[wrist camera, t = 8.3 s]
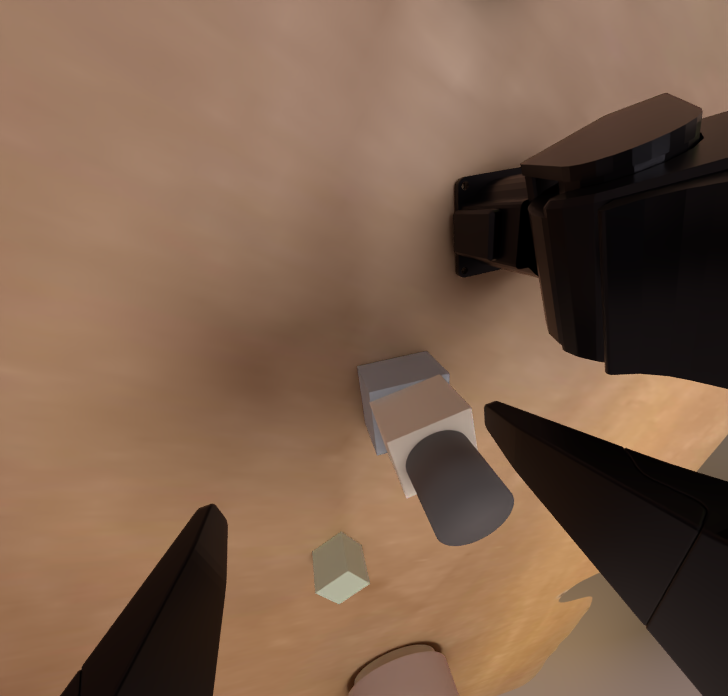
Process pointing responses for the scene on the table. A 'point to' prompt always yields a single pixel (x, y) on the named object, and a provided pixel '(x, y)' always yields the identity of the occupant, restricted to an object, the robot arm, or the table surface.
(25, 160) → the table surface
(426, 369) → the tower base
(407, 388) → the tower top
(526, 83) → the table surface
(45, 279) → the table surface
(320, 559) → the sage block
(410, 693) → the container
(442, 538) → the dark grey cylinder
